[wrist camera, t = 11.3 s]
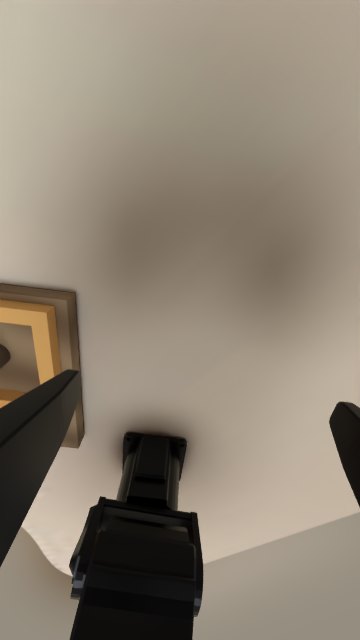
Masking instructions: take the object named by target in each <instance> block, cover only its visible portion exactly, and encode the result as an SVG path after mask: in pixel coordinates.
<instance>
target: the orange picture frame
mask: <svg viewBox="0 0 360 640" xmlns="http://www.w3.org/2000/svg"><path fill="white" fill-rule="evenodd" d="M0 322H3V323H12V324H20V325H28V326H31V327H32V333H33V340H34V347H35V353H36V360H37V367H38V373H39V380H40V385H41V384H42V383H44V382H46V381H48V380H49V379H51V378H53V377H55V376H56V375H58V374H60V373H61V366H60V356H59V347H58V337H57V327H56V317H55V308H54V306H50V305H42V304H33V303H25V302H17V301H9V300H1V299H0ZM25 393H27V392H18V391H10V390H1V389H0V408H1V407H3V406H5V405H6V404H8V403H10V402H11V401H13V400H15V399H17V398H18V397H20V396H22V395H24V394H25Z"/></svg>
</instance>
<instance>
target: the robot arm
mask: <svg viewBox="0 0 360 640" xmlns="http://www.w3.org/2000/svg"><path fill="white" fill-rule="evenodd" d="M81 391H82V387H81V373H80V371H79V370H73V369H67V370H65V371H63V372H61V373H60V374H58V375H56V376H55V377H53V378H51V379H49V380H48V381H46V382H44V383H42V384H41V385H39V386H37V387H36V388H34V389H32V390H30V391H29V392H27V393H25V394H24V395H22V396H20V397H18V398H17V399H15V400H13V401H11V402H10V403H8V404H6V405H5V406H3V407H1V408H0V567H1V565H2V563H3V561H4V559H5V557H6V555H7V553H8V551H9V549H10V547H11V545H12V543H13V541H14V539H15V537H16V535H17V533H18V531H19V529H20V527H21V525H22V523H23V521H24V519H25V517H26V515H27V513H28V511H29V509H30V507H31V505H32V503H33V501H34V499H35V497H36V495H37V493H38V491H39V489H40V487H41V485H42V483H43V481H44V479H45V477H46V475H47V473H48V471H49V469H50V467H51V465H52V463H53V461H54V459H55V457H56V455H57V453H58V451H59V449H60V447H61V445H62V443H63V440H64V438H65V436H66V434H67V431H68V428H69V426H70V423H71V420H72V418H73V415H74V412H75V409H76V407H77V404H78V401H79V398H80V396H81ZM329 424H330V428H331V431H332V434H333V437H334V441H335V444H336V447H337V450H338V453H339V456H340V460H341V463H342V466H343V468H344V471H345V473H346V476H347V478H348V481H349V483H350V485H351V488H352V490H353V493H354V495H355V497H356V500H357V502H358V504H359V507H360V408H359V407H358V406H356V405H355V404H353V403H350V402H339V403H337V405H336V407H335V409H334V411H333V413H332V415H331V417H330V420H329ZM186 447H187V441H186V440H185V439H179V438H170V437H162V436H153V435H144V434H136V433H126V434H125V436H124V442H123V472H122V473H123V474H122V478H121V482H120V486H119V490H118V494H117V498H116V500H111V499H106V497H101V496H100V498H99V501H98V504H97V505H96V506H93V507H91V508H90V511H89V514H88V517H87V520H86V523H85V526H84V529H83V532H82V534H81V536H80V539H79V541H78V543H77V546H76V548H75V550H74V553H73V555H72V557H71V560H70V564H69V568H70V570H71V573H72V575H73V578H72V584H73V587H72V593H71V599H77V600H79V604H78V608H77V612H76V616H75V620H74V624H73V628H72V632H71V637H70V640H192V634H193V619H194V617H196V616H197V615H198V613H199V610H200V606H201V600H202V591H203V559H202V551H201V543H200V534H199V526H198V518H197V513H195V512H190V513H188V512H182V511H178V489H179V481H180V478H181V473H182V468H183V463H184V457H185V452H186Z"/></svg>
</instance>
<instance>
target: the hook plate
mask: <svg viewBox="0 0 360 640" xmlns="http://www.w3.org/2000/svg"><path fill="white" fill-rule="evenodd" d="M0 299H1V300H9V301H17V302H25V303H33V304H42V305H50V306H54V308H55V317H56V327H57V337H58V347H59V356H60V366H61V372H63V371H65V370H67V369H73V370H79V371H80V367H79V351H78V335H77V319H76V303H75V293H69V292H61V291H53V290H45V289H37V288H28V287H20V286H12V285H4V284H0ZM39 385H40V380H39V373H38V367H37V360H36V353H35V347H34V340H33V333H32V327H31V326H28V325H20V324H12V323H3V322H0V389H1V390H10V391H18V392H29V391H30V390H32V389H34V388H36V387H37V386H39ZM83 437H84V430H83V414H82V399H81V396H80V398H79V401H78V404H77V407H76V409H75V412H74V415H73V418H72V420H71V423H70V426H69V428H68V431H67V434H66V436H65V438H64V440H63V443H62V445H61V447H70V448H79V446H80V444H81V441H82V439H83Z"/></svg>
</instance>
